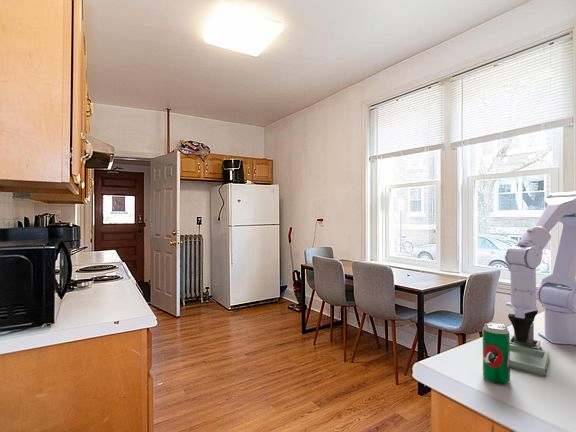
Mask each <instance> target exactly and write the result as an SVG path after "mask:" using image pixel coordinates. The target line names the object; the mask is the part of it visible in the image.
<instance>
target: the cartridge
mask: <svg viewBox="0 0 576 432" xmlns="http://www.w3.org/2000/svg"><path fill="white" fill-rule="evenodd" d="M534 327H535V325H534V322H533V323H532V324H531V326H530V330H529V335H528V340H527V343H522V342H517V340H516V336H515V332H514V331H513V334H514V335H513V336H514V341H513V342H514V343H518V344H523V345H528V346H533V347H535V346H534V340H535V334H534V330H535V329H534Z"/></svg>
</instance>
